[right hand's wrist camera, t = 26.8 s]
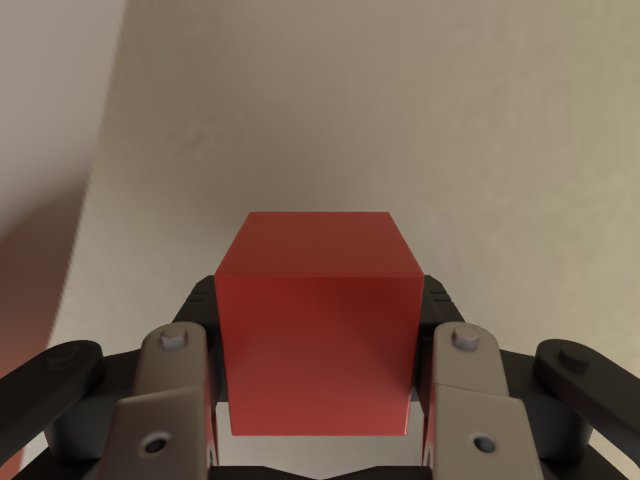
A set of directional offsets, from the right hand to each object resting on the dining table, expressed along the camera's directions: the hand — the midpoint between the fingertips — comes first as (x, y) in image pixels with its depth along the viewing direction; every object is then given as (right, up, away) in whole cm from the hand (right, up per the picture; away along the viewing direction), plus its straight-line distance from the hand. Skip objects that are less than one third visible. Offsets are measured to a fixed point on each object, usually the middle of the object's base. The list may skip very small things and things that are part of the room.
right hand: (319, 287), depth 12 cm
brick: (0, 0, 0) cm, 1 cm away
